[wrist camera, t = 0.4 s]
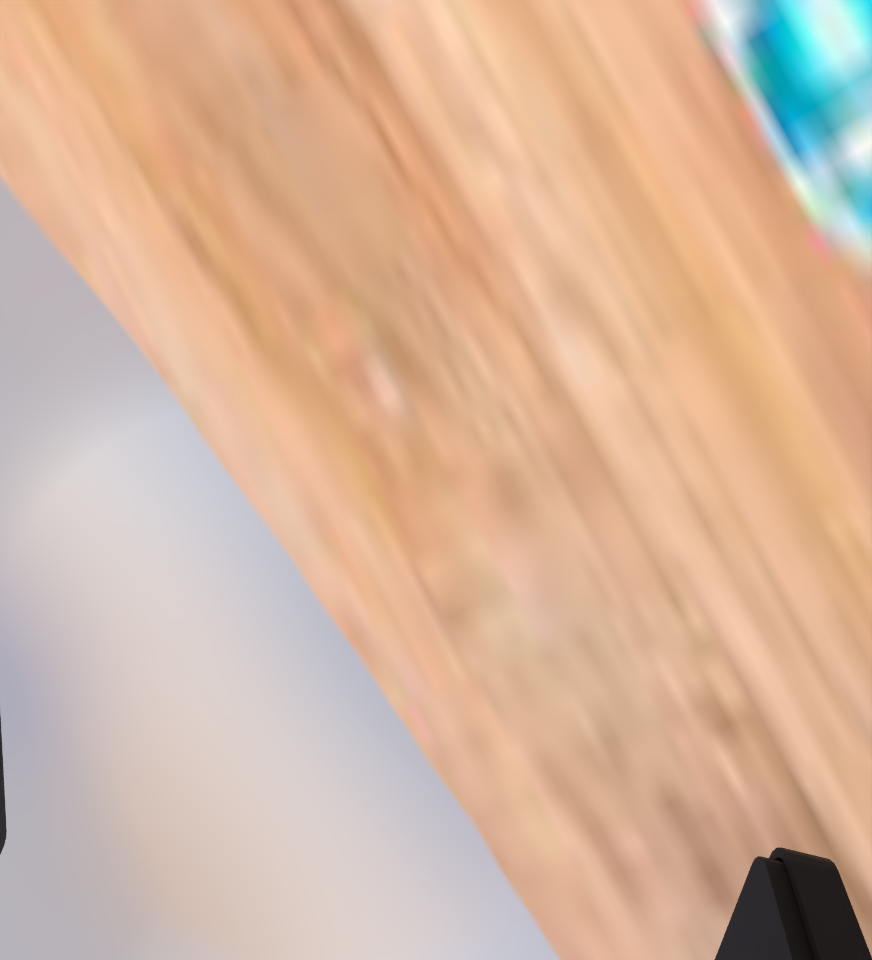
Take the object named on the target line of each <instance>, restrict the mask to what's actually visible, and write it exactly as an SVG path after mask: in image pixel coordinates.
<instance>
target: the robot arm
mask: <svg viewBox="0 0 872 960" xmlns="http://www.w3.org/2000/svg"><path fill="white" fill-rule="evenodd" d="M3 776H4V775H3V756H2V737H1V718H0V854H1V851H2V849H3V847H4V844H5V840H6V814H5V796H4V795H5V794H4V777H3ZM715 960H872V957H871V955H870V952H869V949H868V947H867V944H866V942H865V939H864V936H863V934H862V931H861V929H860V926H859V923H858V921H857V918H856V916H855V913H854V910H853V908H852V905H851V903H850V900H849V897H848V895H847V892H846V890H845V887H844V884H843V882H842V879H841V877H840V874H839V871H838V869H837V868H836V866H835V864H834V863H833V862H832V861H831V860H830V859H826V858H822V857H818V856H814V855H810V854H806V853H801V852H797V851H793V850H789V849H785V848H776V849H775V850H774V851H772V853H771V855H770V857H769V858H765V857H757V858H756V859H755V860H754V861H753V863H752V866H751V868H750V871H749V873H748V876H747V878H746V881H745V884H744V886H743V889H742V891H741V894H740V896H739V899H738V902H737V904H736V907H735V909H734V912H733V914H732V917H731V920H730V922H729V925H728V927H727V930H726V932H725V935H724V937H723V940H722V943H721V945H720V948H719V950H718V953H717V955H716V958H715Z"/></svg>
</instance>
